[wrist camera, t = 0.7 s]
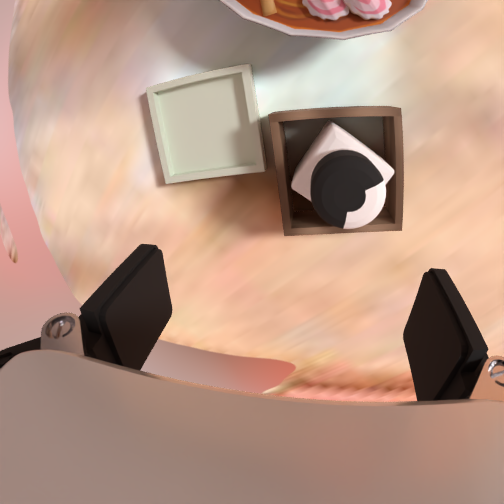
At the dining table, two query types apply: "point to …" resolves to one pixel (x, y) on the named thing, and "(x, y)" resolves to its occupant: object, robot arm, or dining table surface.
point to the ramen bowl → (327, 15)
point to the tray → (208, 125)
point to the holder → (393, 145)
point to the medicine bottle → (342, 178)
